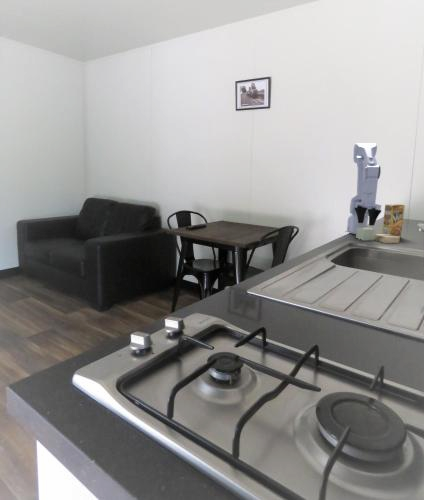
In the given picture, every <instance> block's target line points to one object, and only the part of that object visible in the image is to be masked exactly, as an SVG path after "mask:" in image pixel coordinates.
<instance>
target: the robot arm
mask: <svg viewBox="0 0 424 500" xmlns="http://www.w3.org/2000/svg"><path fill="white" fill-rule="evenodd" d="M377 150H378V146H377V143H376V142H374V143H358V142H356V143H355V144H354V146H353V162H354V163H355V164H356V166H357V181H356V187H357V188H356V195H355V196H353V197H351V200H350V205H349V214H350V216H349V217H348V219H347V226H346V230H345V231H344V232H346V233H349V234H354V235H357V228H368V225H369V226H375V224H376V221H377V220H378V217H379V215H380V214H381V213H382V205H381V204H376V202H377V201H376V200H377V194H378V193H377V190H378V181H379V179H380V176H381V172H382V171H381V170H382V168H381V165H378V162H377V159H376V158H375V157H376V154H377Z"/></svg>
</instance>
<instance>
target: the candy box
mask: <svg viewBox="0 0 424 500" xmlns="http://www.w3.org/2000/svg"><path fill="white" fill-rule="evenodd" d="M405 207H406V206H405V204H400V203H399V204H398V203H396V204H395V203H393V204H392V203H391V204H385V205H384V215H383V224H382V232H381V234H390V235H394V236H399V237H400V238H402V232H403V223H404V217H405V216H404V215H405Z"/></svg>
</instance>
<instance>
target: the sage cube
mask: <svg viewBox="0 0 424 500" xmlns="http://www.w3.org/2000/svg"><path fill="white" fill-rule="evenodd" d="M374 232H375V229H374V228H371V227H367V228H357V234H355V235H356V237H355V238H358V239H357V240H360V239H361V240H360V241H373V240H374Z"/></svg>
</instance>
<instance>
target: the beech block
mask: <svg viewBox="0 0 424 500" xmlns="http://www.w3.org/2000/svg"><path fill="white" fill-rule="evenodd" d="M400 238H401V237H399V236H394V235H390V234H382V233H380V234H379V233H376V234H374V241H375V240H376V242H380V243H382V242H383V243H382V244H399V243H400Z"/></svg>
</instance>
